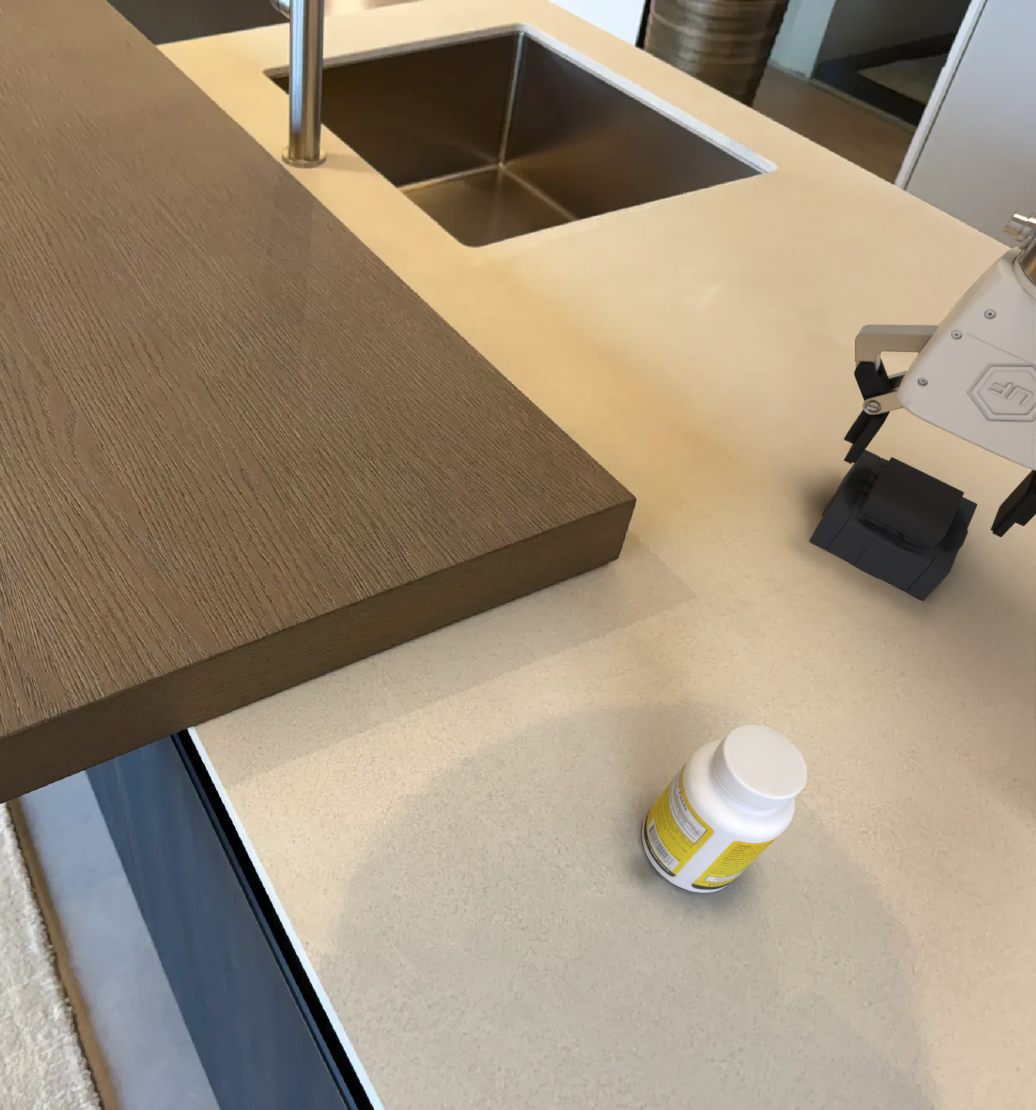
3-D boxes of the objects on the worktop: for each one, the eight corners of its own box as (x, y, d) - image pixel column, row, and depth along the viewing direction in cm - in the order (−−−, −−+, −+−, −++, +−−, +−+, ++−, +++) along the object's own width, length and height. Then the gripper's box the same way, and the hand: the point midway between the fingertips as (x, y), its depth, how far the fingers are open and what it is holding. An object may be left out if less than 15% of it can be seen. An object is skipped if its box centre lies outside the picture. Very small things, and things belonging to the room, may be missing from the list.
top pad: (927, 535, 74) (964, 492, 70) (907, 577, 71) (945, 535, 68) (858, 500, 75) (891, 456, 72) (836, 540, 73) (870, 497, 69)
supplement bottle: (749, 833, 58) (835, 746, 50) (722, 914, 55) (809, 836, 47) (656, 783, 59) (727, 692, 52) (624, 860, 56) (695, 775, 49)
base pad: (954, 532, 74) (980, 503, 72) (924, 603, 70) (950, 575, 67) (842, 476, 77) (863, 447, 74) (806, 541, 72) (827, 512, 70)
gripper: (923, 231, 57) (781, 455, 70) (1276, 374, 51) (1049, 588, 64) (956, 177, 61) (816, 398, 74) (1286, 304, 55) (1071, 518, 68)
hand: (925, 486), depth 69 cm, fingers open, 9 cm apart
